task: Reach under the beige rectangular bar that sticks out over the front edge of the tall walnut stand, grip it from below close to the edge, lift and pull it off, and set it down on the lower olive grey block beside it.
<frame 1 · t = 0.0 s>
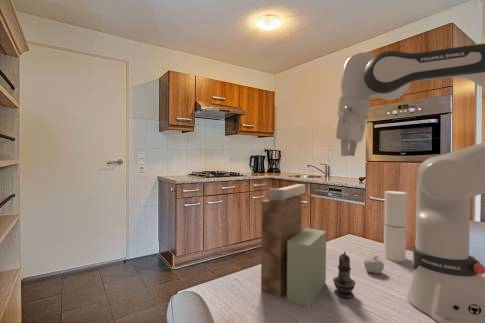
hand: (348, 156, 80), 39 cm above the table, tool pointing down, fingers open, 8 cm apart
garlic: (373, 272, 87), on the table
olive grey block: (307, 291, 75), on the table
cylindrical container: (394, 258, 99), on the table
beige rectangular bar: (289, 195, 83), point 26 cm above the table, touching tall stand
stone chess bishop: (343, 294, 73), on the table
tall stand: (281, 283, 79), on the table
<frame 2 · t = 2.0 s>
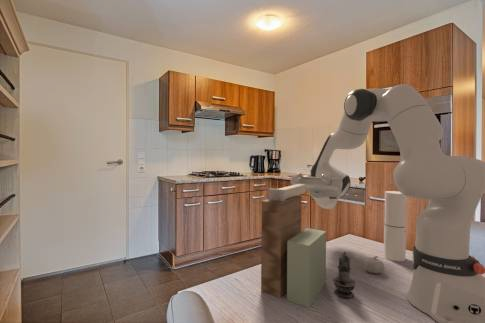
hand: (310, 175, 99), 31 cm above the table, tool pointing upward, fingers open, 8 cm apart
nothing on the table moved.
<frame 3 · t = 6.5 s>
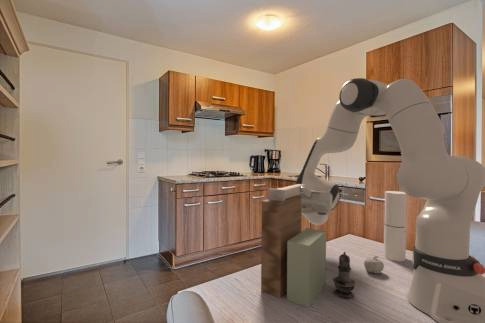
hand: (295, 188, 87), 28 cm above the table, tool pointing upward, fingers closed on beige rectangular bar, 3 cm apart
beige rectangular bar: (290, 195, 83), point 26 cm above the table, touching gripper, tall stand
everything else where it was.
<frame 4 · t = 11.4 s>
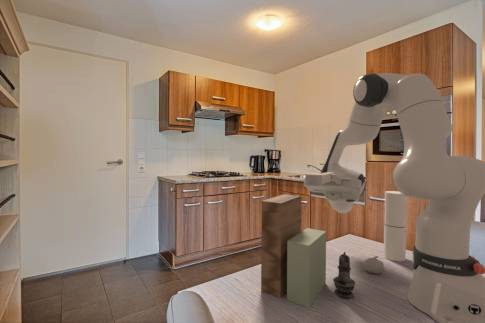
hand: (327, 175, 91), 32 cm above the table, tool pointing upward, fingers closed on beige rectangular bar, 3 cm apart
beige rectangular bar: (322, 182, 87), point 30 cm above the table, touching gripper
everything else where it was.
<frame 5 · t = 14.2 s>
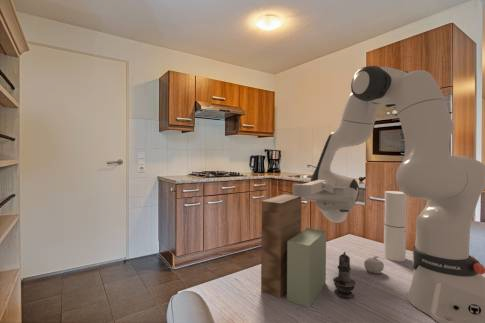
hand: (318, 184, 83), 30 cm above the table, tool pointing upward, fingers closed on beige rectangular bar, 3 cm apart
beige rectangular bar: (312, 191, 79), point 28 cm above the table, touching gripper
everything else where it was.
when the fingers open (19 cm above the table, at t = 16.6 s): beige rectangular bar drops 2 cm, resting on olive grey block.
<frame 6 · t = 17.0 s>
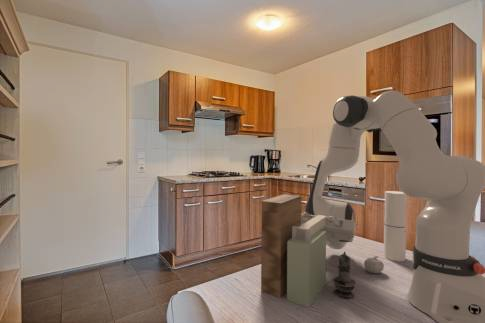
hand: (317, 216, 83), 19 cm above the table, tool pointing upward, fingers open, 7 cm apart
beige rectangular bar: (312, 230, 79), point 16 cm above the table, touching olive grey block
everything else where it was.
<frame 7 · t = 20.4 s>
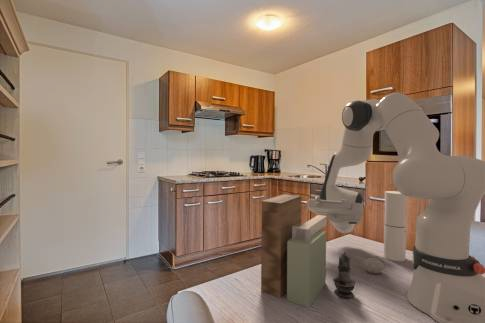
hand: (329, 200, 94), 23 cm above the table, tool pointing upward, fingers open, 8 cm apart
nothing on the table moved.
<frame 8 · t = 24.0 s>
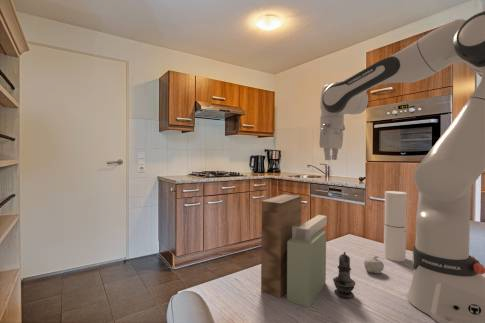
hand: (331, 159, 104), 37 cm above the table, tool pointing down, fingers open, 8 cm apart
nothing on the table moved.
at the end: beige rectangular bar 0.6 cm from the target spot on the olive grey block, point 16.0 cm above the olive grey block's base; the gripper is holding nothing; beige rectangular bar tilted 0° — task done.
